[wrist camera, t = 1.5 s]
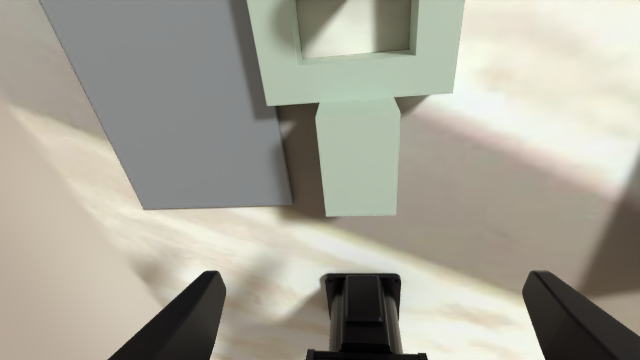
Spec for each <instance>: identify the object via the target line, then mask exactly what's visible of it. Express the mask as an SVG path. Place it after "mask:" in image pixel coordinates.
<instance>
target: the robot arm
mask: <svg viewBox="0 0 640 360" xmlns="http://www.w3.org/2000/svg"><path fill="white" fill-rule="evenodd" d="M331 279H332V280H331ZM325 284H326V292H327V300H328V308H329V315H330V321H331V324H330V341H329V351H315V349H308V351H307V356H306V360H428V359H427V355H426V353H418V354H403V350H402V344H401V337H400V330H399V323H398V321H399V307H400V291H401V278H400V276H399V275H398V274H327V275H326V277H325ZM522 295H523V299H524V302H525V305H526V307H527V310H528V313H529V316H530V319H531V322H532V325H533V327H534V330H535V333H536V336H537V339H538V342H539V345H540V347H541V350H542V352H543V355H544V357H545V360H640V336H638V335H637V334H635V333H634V332H633V331H631V330H630V329H629V328H627V327H626V326H624V325H623V324H622V323H620V322H619V321H617V320H616V319H615V318H613V317H612V316H611V315H609V314H608V313H606V312H605V311H604V310H602V309H601V308H600V307H598V306H597V305H595V304H594V303H593V302H591V301H590V300H588V299H587V298H586V297H584V296H583V295H582V294H580V293H579V292H577V291H576V290H575V289H573V288H572V287H571V286H569V285H568V284H566V283H565V282H564V281H562V280H561V279H559V278H558V277H557V276H555V275H554V274H553V273H551V272H549V271H531V272H530V273H529V275H528V277H527V280H526V282H525V284H524V287H523V290H522ZM225 296H226V287H225V284H224V282H223V279H222V277H221V275H220V273H219V272H218V271H205V272H203V273H202V274H201V275H200V276H199V277H198V278H196V279H195V280H194V281H193V282H192V283H191V284H190V285H189V286H188V287H187V288H186V289H184V290H183V291H182V292H181V293H180V294H179V295H178V296H177V297H176V298H175V299H173V300H172V301H171V302H170V303H169V304H168V305H167V306H166V307H165V308H164V309H163V310H161V311H160V312H159V313H158V314H157V315H156V316H155V317H154V318H153V319H152V320H150V322H149V323H147V324H146V325H145V326H144V327H143V328H142V329H141V330H140V331H138V332H137V333H136V334H135V335H134V336H133V337H132V338H131V339H130V340H129V341H128V342H126V343H125V344H124V345H123V346H122V347H121V348H120V349H119V350H118V351H117V352H115V353H114V354H113V355H112V356H111V357H110V358H109V359H108V360H209V359H210V356H211V354H212V350H213V347H214V344H215V340H216V336H217V332H218V327H219V323H220V318H221V314H222V310H223V305H224V301H225Z"/></svg>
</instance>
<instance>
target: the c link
mask: <svg viewBox="0 0 640 360" xmlns="http://www.w3.org/2000/svg"><path fill="white" fill-rule="evenodd" d="M464 3H465V0H412V3H411V22H410V41H409V50H398V51H387V52H376V53H365V54H354V55H342V56H331V57H320V58H309V59H302V52H301V44H300V36H299V27H298V19H297V11H296V2H295V0H247V4H248V9H249V15H250V20H251V25H252V30H253V35H254V41H255V46H256V51H257V56H258V61H259V67H260V72H261V77H262V82H263V87H264V93H265V98H266V103H267V106H276V105H290V104H305V103H319V102H320V103H319V107H318V110H317V114H316V117H315V120H316V129H317V138H318V148H319V157H320V166H321V175H322V184H323V193H324V202H325V211H326V217H329V216H374V215H396V206H397V183H398V160H399V137H400V114H401V113H400V110H399V108H398V106H397V103H396V101H395V99H394V97H404V96H418V95H432V94H447V93H453V86H454V79H455V71H456V64H457V56H458V48H459V41H460V33H461V26H462V18H463V10H464Z"/></svg>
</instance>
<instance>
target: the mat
mask: <svg viewBox="0 0 640 360" xmlns="http://www.w3.org/2000/svg"><path fill="white" fill-rule="evenodd" d="M40 2H41V4H42V6H43V8H44V10H45V12H46V14H47V16H48V18H49V20H50V22H51V24H52V26H53V28H54V30H55V32H56V34H57V36H58V38H59V40H60V42H61V44H62V46H63V48H64V50H65V52H66V54H67V56H68V58H69V60H70V62H71V64H72V66H73V68H74V70H75V72H76V74H77V76H78V78H79V80H80V82H81V84H82V86H83V88H84V90H85V92H86V94H87V96H88V98H89V100H90V102H91V104H92V106H93V108H94V110H95V112H96V114H97V116H98V118H99V120H100V122H101V124H102V126H103V128H104V130H105V132H106V134H107V136H108V138H109V140H110V142H111V144H112V146H113V148H114V150H115V152H116V154H117V156H118V158H119V160H120V162H121V164H122V166H123V168H124V170H125V172H126V174H127V176H128V178H129V180H130V182H131V184H132V186H133V188H134V190H135V192H136V194H137V196H138V198H139V200H140V202H141V204H142V206H143V208H144V209H170V208H205V207H241V206H277V205H292V203H293V197H292V192H291V186H290V180H289V175H288V169H287V163H286V158H285V152H284V146H283V141H282V135H281V129H280V124H279V118H278V112H277V106H267V103H266V98H265V93H264V87H263V82H262V77H261V72H260V67H259V61H258V56H257V51H256V46H255V41H254V35H253V30H252V25H251V20H250V15H249V9H248V4H247V0H40Z"/></svg>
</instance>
